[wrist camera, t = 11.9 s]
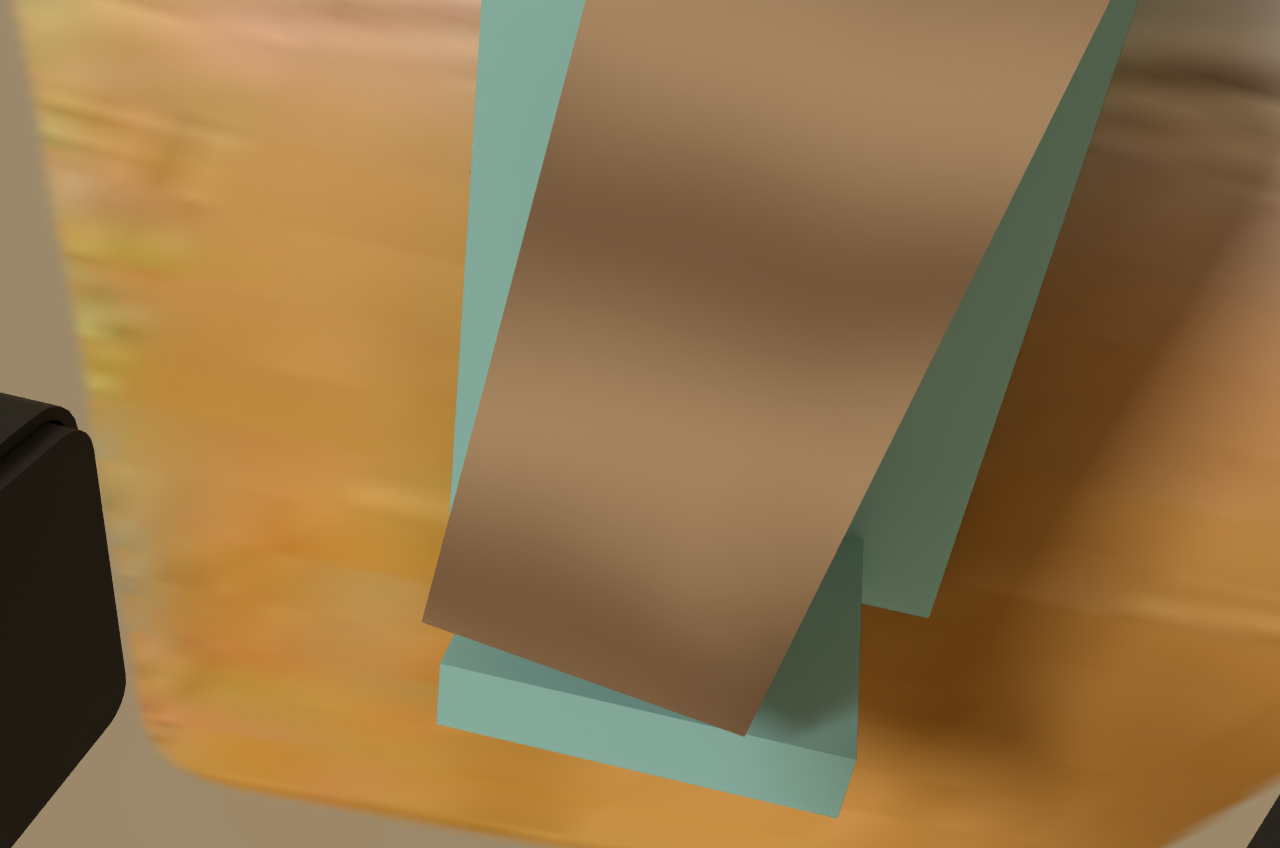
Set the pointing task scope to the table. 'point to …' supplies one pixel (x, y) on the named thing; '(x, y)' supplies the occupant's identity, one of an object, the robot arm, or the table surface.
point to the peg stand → (888, 514)
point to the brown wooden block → (730, 320)
